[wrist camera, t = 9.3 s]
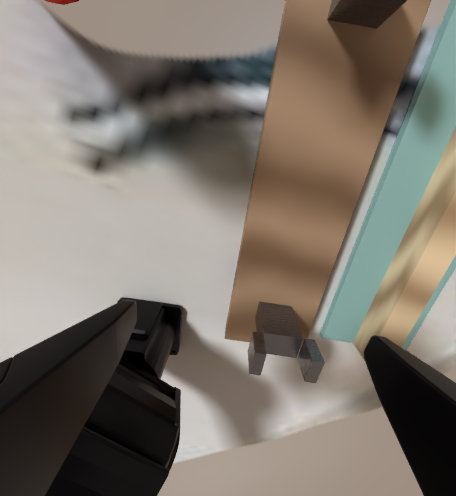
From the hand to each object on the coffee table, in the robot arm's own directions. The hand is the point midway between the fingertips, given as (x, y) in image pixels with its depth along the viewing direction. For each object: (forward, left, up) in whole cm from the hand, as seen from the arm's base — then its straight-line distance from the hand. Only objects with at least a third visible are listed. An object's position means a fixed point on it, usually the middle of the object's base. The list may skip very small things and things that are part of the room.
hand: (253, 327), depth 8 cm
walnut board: (+4, -4, -12) cm, 13 cm away
